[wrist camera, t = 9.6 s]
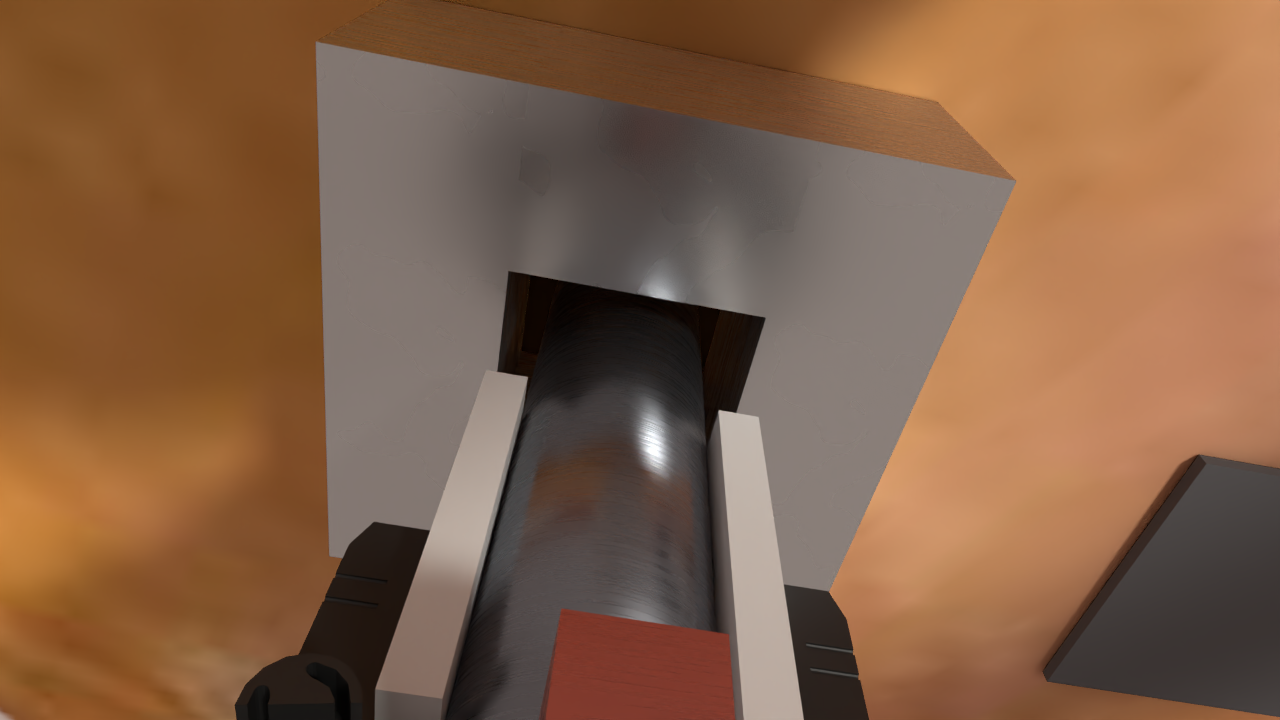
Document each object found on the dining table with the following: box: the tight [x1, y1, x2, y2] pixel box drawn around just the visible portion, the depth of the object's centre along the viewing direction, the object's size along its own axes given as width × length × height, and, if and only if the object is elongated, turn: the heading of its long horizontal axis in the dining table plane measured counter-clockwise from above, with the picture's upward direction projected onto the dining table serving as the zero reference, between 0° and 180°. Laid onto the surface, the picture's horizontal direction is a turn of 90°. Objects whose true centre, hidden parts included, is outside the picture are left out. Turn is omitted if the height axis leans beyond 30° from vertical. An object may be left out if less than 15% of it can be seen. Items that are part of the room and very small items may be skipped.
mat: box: [1043, 455, 1280, 717], centre depth 26 cm, size 10×10×1 cm
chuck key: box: [445, 280, 735, 720], centre depth 14 cm, size 9×4×14 cm, turn 169°
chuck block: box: [316, 0, 1016, 592], centre depth 19 cm, size 12×12×5 cm
